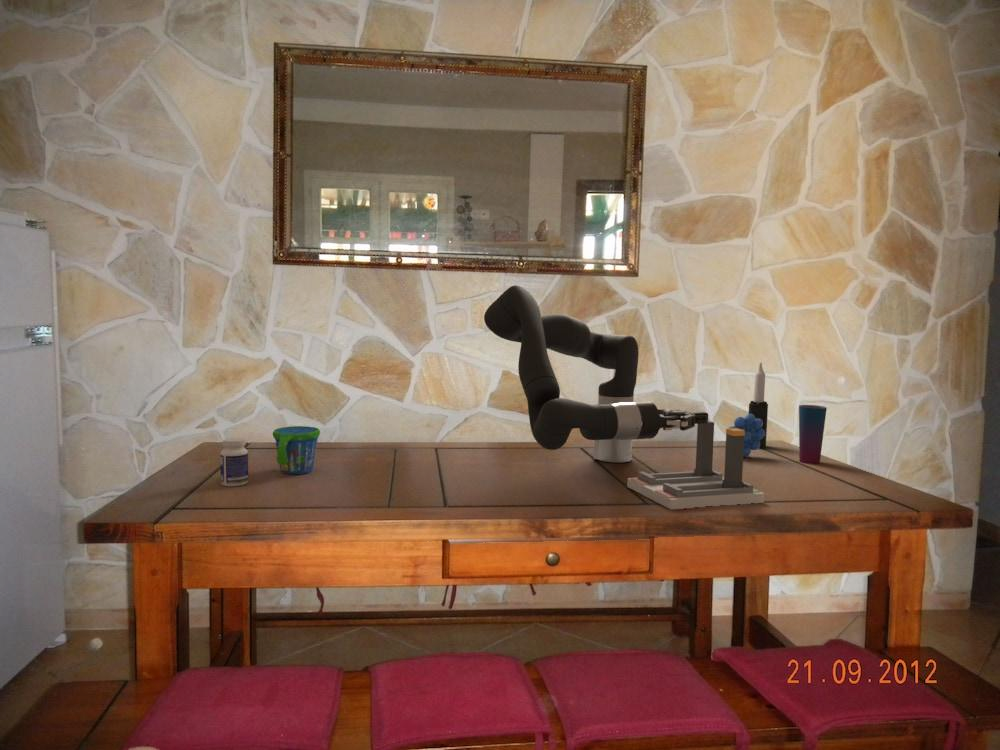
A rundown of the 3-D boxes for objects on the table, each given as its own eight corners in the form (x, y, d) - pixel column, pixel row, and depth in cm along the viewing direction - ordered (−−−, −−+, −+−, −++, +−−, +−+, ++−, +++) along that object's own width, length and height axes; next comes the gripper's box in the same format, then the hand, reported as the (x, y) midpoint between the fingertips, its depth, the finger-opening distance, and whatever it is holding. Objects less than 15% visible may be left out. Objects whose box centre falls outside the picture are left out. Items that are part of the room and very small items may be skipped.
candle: (766, 445, 217) (770, 362, 215) (764, 448, 212) (769, 363, 210) (748, 444, 219) (752, 361, 217) (746, 446, 215) (750, 362, 212)
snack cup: (299, 480, 163) (298, 436, 162) (258, 477, 166) (257, 433, 165) (332, 466, 178) (332, 426, 177) (295, 463, 181) (294, 423, 180)
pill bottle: (253, 482, 161) (253, 438, 160) (236, 488, 156) (236, 442, 155) (232, 479, 163) (232, 436, 162) (215, 485, 158) (214, 440, 157)
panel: (670, 509, 145) (673, 435, 144) (627, 486, 163) (629, 421, 162) (764, 502, 151) (767, 432, 150) (712, 481, 170) (714, 418, 168)
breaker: (730, 490, 152) (733, 431, 151) (722, 487, 155) (725, 428, 153) (743, 490, 153) (745, 430, 151) (734, 486, 155) (737, 428, 154)
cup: (826, 465, 190) (829, 408, 189) (798, 463, 192) (801, 407, 190) (820, 460, 197) (823, 405, 196) (793, 458, 198) (796, 404, 197)
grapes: (754, 453, 205) (756, 411, 204) (768, 458, 198) (770, 414, 197) (717, 454, 202) (719, 411, 201) (729, 459, 196) (731, 415, 195)
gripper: (615, 433, 152) (688, 429, 157) (646, 445, 139) (724, 441, 144) (616, 397, 151) (689, 395, 156) (647, 407, 138) (725, 404, 143)
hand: (706, 417), depth 150 cm, fingers closed
